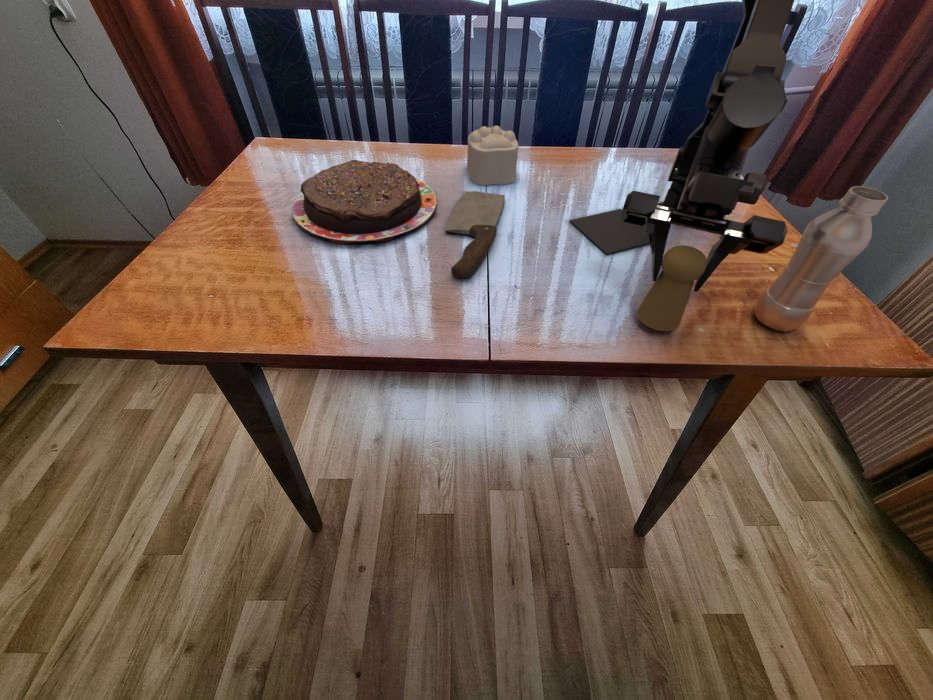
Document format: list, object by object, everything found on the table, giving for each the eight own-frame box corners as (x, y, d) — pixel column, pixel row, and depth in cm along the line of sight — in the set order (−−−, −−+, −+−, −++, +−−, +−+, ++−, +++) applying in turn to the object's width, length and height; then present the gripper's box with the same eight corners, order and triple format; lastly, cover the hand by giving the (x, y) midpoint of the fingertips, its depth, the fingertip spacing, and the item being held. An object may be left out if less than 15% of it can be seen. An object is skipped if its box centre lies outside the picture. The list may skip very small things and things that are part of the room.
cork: (680, 307, 62) (713, 243, 54) (680, 335, 58) (716, 271, 50) (638, 298, 63) (664, 234, 55) (635, 325, 59) (663, 260, 51)
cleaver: (483, 283, 67) (483, 272, 66) (424, 275, 68) (423, 264, 67) (506, 198, 87) (507, 188, 86) (460, 193, 88) (460, 183, 87)
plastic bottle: (796, 343, 59) (907, 214, 45) (745, 325, 62) (834, 197, 47) (799, 317, 63) (903, 190, 48) (750, 301, 65) (835, 175, 51)
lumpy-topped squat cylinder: (472, 185, 90) (473, 144, 84) (463, 160, 99) (463, 121, 93) (519, 183, 92) (523, 141, 85) (506, 158, 100) (509, 119, 94)
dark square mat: (620, 210, 84) (620, 208, 84) (660, 241, 77) (661, 239, 76) (569, 221, 81) (569, 220, 81) (606, 255, 73) (606, 253, 73)
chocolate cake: (465, 204, 85) (465, 172, 80) (358, 266, 70) (351, 232, 65) (372, 164, 97) (368, 134, 92) (264, 211, 82) (252, 178, 77)
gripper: (649, 123, 48) (605, 255, 50) (835, 153, 43) (780, 298, 45) (638, 164, 59) (602, 271, 60) (786, 192, 54) (743, 308, 55)
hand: (674, 286), depth 55 cm, fingers closed on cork, 5 cm apart
